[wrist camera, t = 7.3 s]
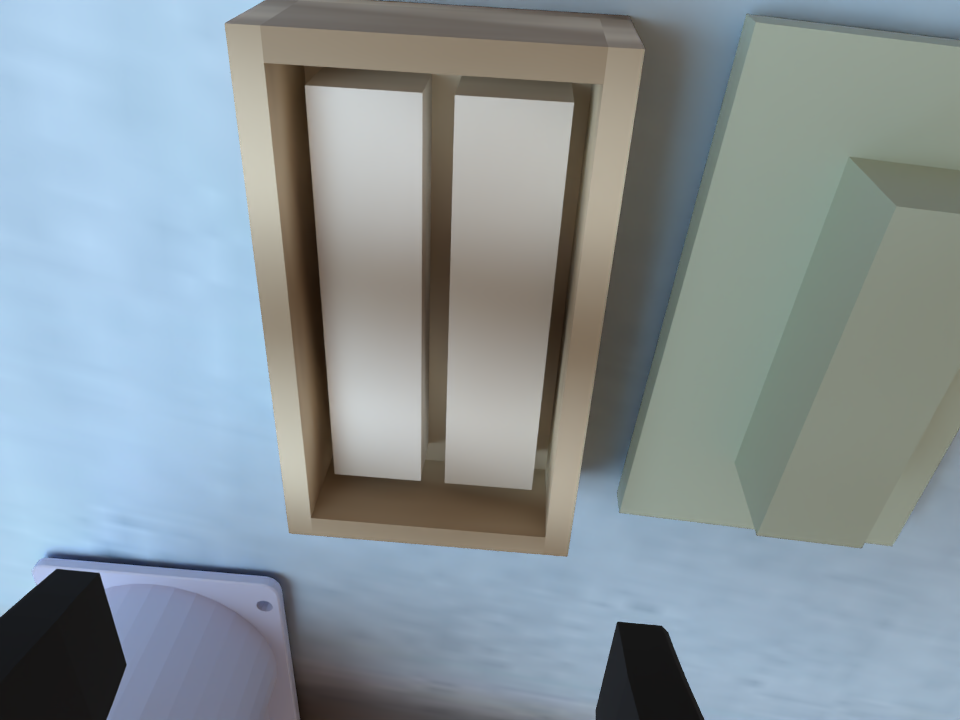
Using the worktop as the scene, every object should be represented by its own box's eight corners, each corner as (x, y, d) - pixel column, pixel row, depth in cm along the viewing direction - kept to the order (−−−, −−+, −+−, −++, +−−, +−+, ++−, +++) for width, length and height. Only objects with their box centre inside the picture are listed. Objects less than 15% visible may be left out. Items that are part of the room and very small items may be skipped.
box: (564, 475, 22) (567, 556, 20) (318, 455, 22) (289, 533, 20) (628, 15, 15) (644, 49, 13) (275, -6, 16) (224, 23, 13)
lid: (872, 506, 22) (930, 623, 19) (615, 475, 22) (627, 586, 19) (1111, 53, 15) (1267, 112, 12) (738, 7, 15) (791, 53, 12)
